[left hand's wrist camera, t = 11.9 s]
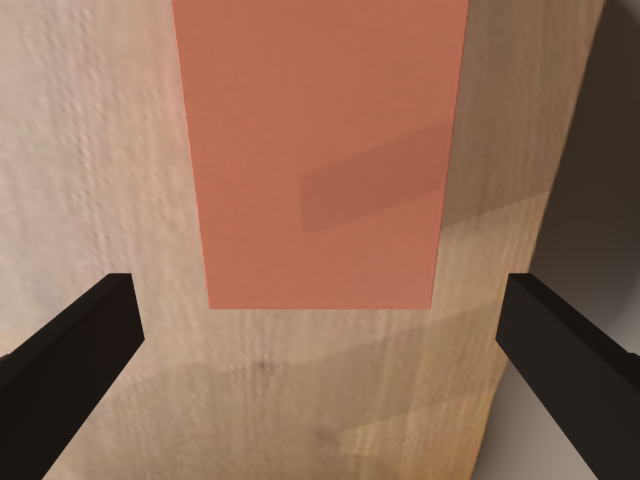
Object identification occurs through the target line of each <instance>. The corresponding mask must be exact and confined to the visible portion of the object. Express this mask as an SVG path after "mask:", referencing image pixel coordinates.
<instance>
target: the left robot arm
mask: <svg viewBox="0 0 640 480" xmlns="http://www.w3.org/2000/svg"><path fill="white" fill-rule="evenodd" d="M144 340H145V338H144V333H143V328H142V324H141V319H140V314H139V309H138V304H137V299H136V295H135V290H134V285H133V280H132V275H131V273H109V274H108V275H106V276H105V277H104V278H103V279H101V280H100V281H99V282H98V283H97V284H95V285H94V286H93V287H92V288H90V289H89V290H88V291H87V292H86V293H84V294H83V295H82V296H81V297H79V298H78V299H77V300H76V301H74V302H73V303H72V304H71V305H70V306H68V307H67V308H66V309H65V310H63V311H62V312H61V313H60V314H58V315H57V316H56V317H55V318H54V319H52V320H51V321H50V322H49V323H47V324H46V325H45V326H44V327H42V328H41V329H40V330H39V331H38V332H36V333H35V334H34V335H33V336H31V337H30V338H29V339H28V340H26V341H25V342H24V343H23V344H22V345H20V346H19V347H18V348H17V349H15V350H14V351H13V352H12V353H10V354H6V355H4V356H2V357H1V358H0V480H42V479H43V477H44V476H45V475H46V473H47V472H48V470H49V469H50V468H51V466H52V465H53V464H54V462H55V461H56V460H57V458H58V457H59V456H60V454H61V453H62V451H63V450H64V449H65V447H66V446H67V445H68V443H69V442H70V441H71V439H72V438H73V437H74V435H75V434H76V432H77V431H78V430H79V428H80V427H81V426H82V424H83V423H84V422H85V420H86V419H87V417H88V416H89V415H90V413H91V412H92V411H93V409H94V408H95V407H96V405H97V404H98V403H99V401H100V400H101V398H102V397H103V396H104V394H105V393H106V392H107V390H108V389H109V388H110V386H111V385H112V384H113V382H114V381H115V379H116V378H117V377H118V375H119V374H120V373H121V371H122V370H123V369H124V367H125V366H126V365H127V363H128V362H129V360H130V359H131V358H132V356H133V355H134V354H135V352H136V351H137V350H138V348H139V347H140V346H141V344H142V343H143V341H144ZM495 340H496V341H497V343H498V344H499V346H500V347H501V348H502V350H503V351H504V352H505V354H506V355H507V356H508V358H509V359H510V360H511V362H512V363H513V365H514V366H515V367H516V369H517V370H518V371H519V373H520V374H521V375H522V377H523V378H524V379H525V381H526V382H527V384H528V385H529V386H530V387H531V389H532V390H533V392H534V393H535V394H536V396H537V397H538V398H539V400H540V401H541V403H542V404H543V405H544V407H545V408H546V409H547V411H548V412H549V413H550V415H551V416H552V417H553V419H554V420H555V422H556V423H557V424H558V426H559V427H560V428H561V430H562V431H563V432H564V434H565V435H566V436H567V438H568V439H569V441H570V442H571V443H572V445H573V446H574V447H575V449H576V450H577V451H578V453H579V454H580V455H581V457H582V458H583V460H584V461H585V462H586V464H587V465H588V466H589V468H590V469H591V470H592V472H593V473H594V474H595V476H596V477H597V479H598V480H640V356H639V355H637V354H635V353H628V352H627V351H626V350H625V349H623V348H622V347H621V346H620V345H618V344H617V343H616V342H615V341H614V340H612V339H611V338H610V337H609V336H607V335H606V334H605V333H604V332H602V331H601V330H600V329H599V328H597V327H596V326H595V325H594V324H593V323H591V322H590V321H589V320H588V319H586V318H585V317H584V316H583V315H581V314H580V313H579V312H578V311H577V310H575V309H574V308H573V307H572V306H570V305H569V304H568V303H567V302H566V301H564V300H563V299H562V298H561V297H559V296H558V295H557V294H556V293H554V292H553V291H552V290H551V289H550V288H548V287H547V286H546V285H545V284H543V283H542V282H541V281H540V280H539V279H537V278H536V277H535V276H533V275H532V274H531V273H509V275H508V280H507V285H506V290H505V295H504V299H503V304H502V309H501V314H500V319H499V324H498V328H497V333H496V338H495Z"/></svg>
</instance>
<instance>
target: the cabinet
mask: <svg viewBox="0 0 640 480" xmlns="http://www.w3.org/2000/svg"><path fill="white" fill-rule="evenodd" d="M469 1H470V0H171V6H172V14H173V22H174V30H175V38H176V46H177V54H178V62H179V71H180V79H181V87H182V95H183V103H184V111H185V119H186V127H187V135H188V143H189V151H190V159H191V167H192V175H193V183H194V191H195V199H196V207H197V215H198V224H199V232H200V240H201V248H202V256H203V264H204V272H205V280H206V288H207V296H208V304H209V309H430V308H431V301H432V293H433V285H434V277H435V269H436V261H437V253H438V245H439V237H440V230H441V222H442V214H443V206H444V198H445V190H446V182H447V174H448V166H449V159H450V151H451V143H452V135H453V127H454V119H455V111H456V103H457V95H458V88H459V80H460V72H461V64H462V56H463V48H464V40H465V32H466V24H467V17H468V9H469Z"/></svg>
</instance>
